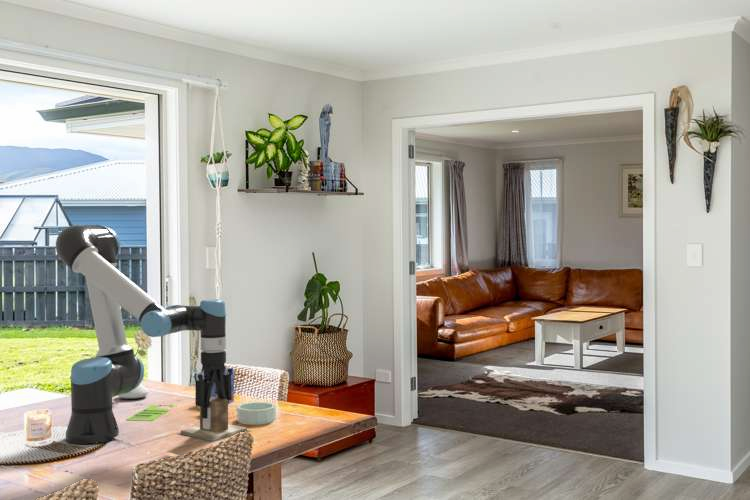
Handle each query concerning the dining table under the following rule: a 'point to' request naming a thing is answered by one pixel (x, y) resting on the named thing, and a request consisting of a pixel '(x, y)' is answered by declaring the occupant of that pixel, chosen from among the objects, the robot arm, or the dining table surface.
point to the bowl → (256, 413)
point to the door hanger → (149, 414)
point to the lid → (215, 423)
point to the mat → (205, 439)
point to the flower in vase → (144, 343)
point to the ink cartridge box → (214, 391)
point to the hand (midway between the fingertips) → (214, 426)
